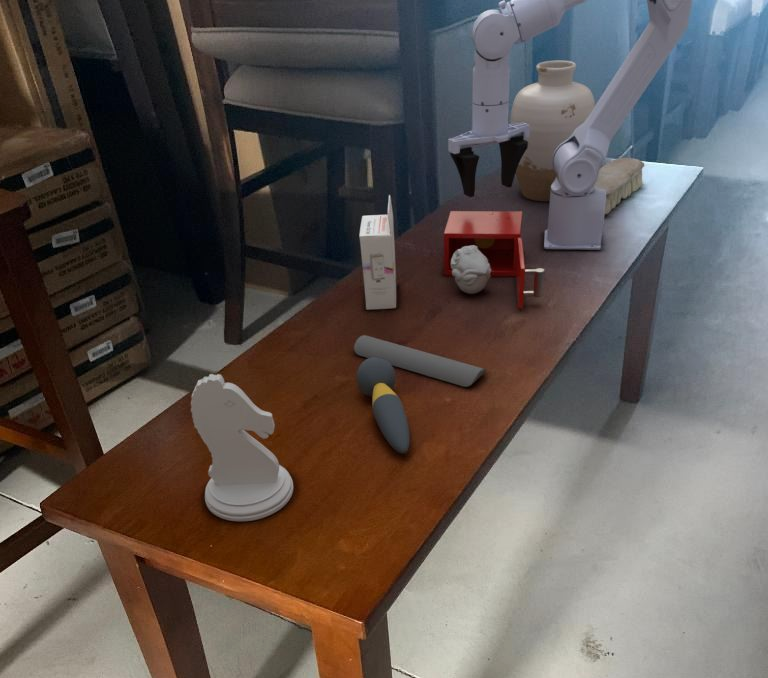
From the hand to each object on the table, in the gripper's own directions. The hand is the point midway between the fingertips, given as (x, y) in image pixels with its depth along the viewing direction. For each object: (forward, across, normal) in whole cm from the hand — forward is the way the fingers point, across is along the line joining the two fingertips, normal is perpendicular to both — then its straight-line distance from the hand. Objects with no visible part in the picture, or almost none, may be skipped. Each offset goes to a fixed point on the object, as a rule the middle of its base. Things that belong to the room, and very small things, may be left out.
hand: (487, 190), depth 130 cm
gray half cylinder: (+10, -31, -29) cm, 44 cm away
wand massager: (+10, -40, -38) cm, 56 cm away
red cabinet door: (+9, -6, -20) cm, 23 cm away
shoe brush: (+10, +32, +5) cm, 34 cm away
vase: (+10, +25, +15) cm, 30 cm away
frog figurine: (+10, -13, -14) cm, 21 cm away
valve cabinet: (+9, -5, -6) cm, 12 cm away
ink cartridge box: (+10, -25, -8) cm, 28 cm away
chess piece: (+10, -61, -44) cm, 76 cm away
